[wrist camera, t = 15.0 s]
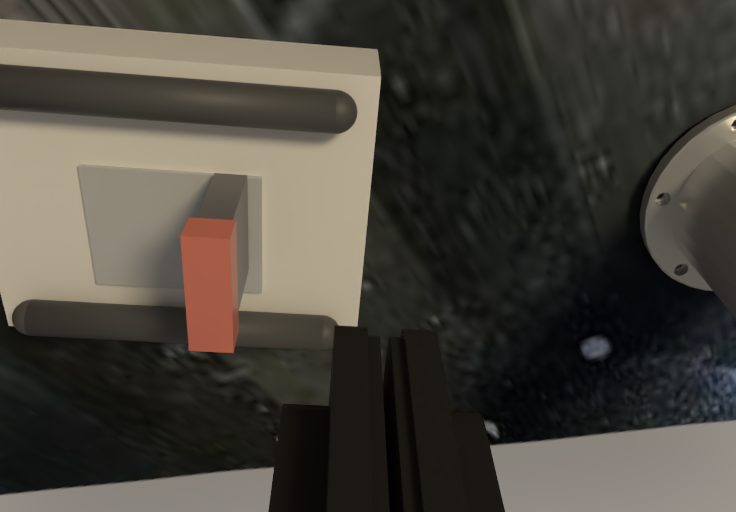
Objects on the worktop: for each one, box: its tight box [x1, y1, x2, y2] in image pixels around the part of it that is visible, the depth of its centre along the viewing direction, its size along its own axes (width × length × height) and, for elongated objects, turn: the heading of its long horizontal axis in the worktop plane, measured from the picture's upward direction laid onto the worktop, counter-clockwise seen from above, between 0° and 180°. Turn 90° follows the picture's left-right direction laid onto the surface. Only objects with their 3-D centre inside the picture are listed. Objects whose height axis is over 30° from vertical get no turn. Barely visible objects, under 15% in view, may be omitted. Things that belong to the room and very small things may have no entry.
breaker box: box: [0, 19, 381, 351], centre depth 35 cm, size 20×16×7 cm
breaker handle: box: [180, 173, 249, 353], centre depth 31 cm, size 2×6×7 cm, turn 175°
